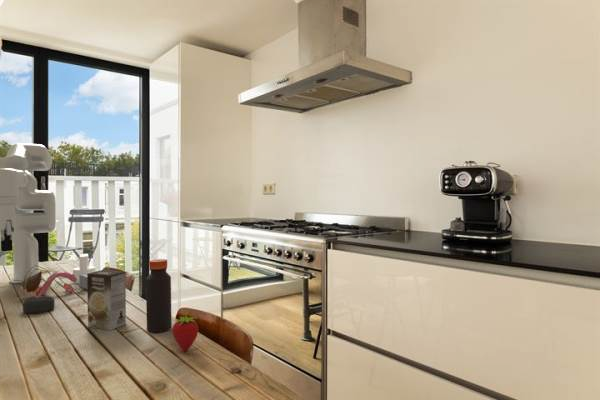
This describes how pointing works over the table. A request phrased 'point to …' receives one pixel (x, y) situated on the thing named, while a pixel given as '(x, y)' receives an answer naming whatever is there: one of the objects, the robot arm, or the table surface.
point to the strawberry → (185, 332)
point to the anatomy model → (34, 281)
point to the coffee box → (106, 299)
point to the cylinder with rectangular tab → (83, 267)
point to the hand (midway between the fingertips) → (6, 250)
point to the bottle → (158, 297)
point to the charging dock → (83, 281)
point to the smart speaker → (38, 305)
